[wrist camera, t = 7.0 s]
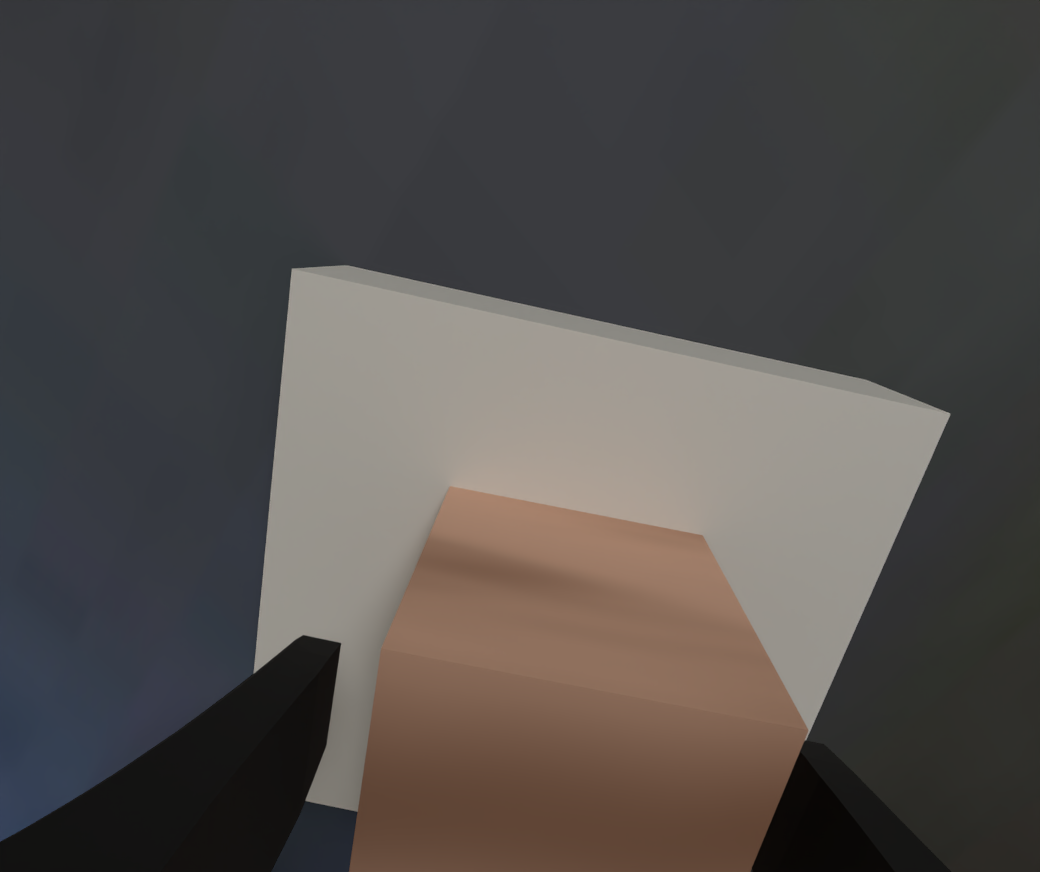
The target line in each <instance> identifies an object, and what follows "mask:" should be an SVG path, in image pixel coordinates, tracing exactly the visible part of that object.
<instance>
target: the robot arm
mask: <svg viewBox="0 0 1040 872" xmlns="http://www.w3.org/2000/svg"><path fill="white" fill-rule="evenodd" d="M340 648H341V643H339V642H334V641H330V640H325V639H320V638H315V637H311V636H306V635H302V636H301V637H299V638H297V639H296V640H294V641H293V642H292V643H291V644H290V645H288V646H287V647H286V648H285V649H283V650H282V651H281V652H280V653H279V654H277V655H276V656H275V657H274V658H272V659H271V660H270V661H269V662H268V663H266V664H265V665H264V666H263V667H261V668H260V669H259V670H258V671H256V672H255V673H254V674H253V675H251V676H250V677H249V678H247V679H246V680H245V681H244V682H242V683H241V684H240V685H239V686H237V687H236V688H235V689H233V690H232V691H231V692H230V693H228V694H227V695H226V696H224V697H223V698H221V699H220V700H219V701H217V702H216V703H215V704H213V705H212V706H211V707H209V708H208V709H207V710H205V711H204V712H203V713H201V714H200V715H199V716H197V717H196V718H195V719H193V720H192V721H191V722H189V723H188V724H187V725H185V726H184V727H182V728H181V729H180V730H178V731H177V732H175V733H174V734H172V735H171V736H169V737H168V738H167V739H165V740H164V741H162V742H161V743H159V744H158V745H156V746H155V747H153V748H152V749H150V750H149V751H147V752H146V753H144V754H143V755H142V756H140V757H139V758H137V759H136V760H134V761H133V762H131V763H130V764H128V765H127V766H125V767H124V768H122V769H121V770H119V771H118V772H116V773H115V774H113V775H112V776H110V777H109V778H107V779H105V780H104V781H102V782H101V783H99V784H98V785H96V786H94V787H93V788H91V789H90V790H88V791H86V792H85V793H83V794H82V795H80V796H78V797H77V798H75V799H73V800H72V801H70V802H69V803H67V804H65V805H63V806H62V807H60V808H58V809H57V810H55V811H53V812H52V813H50V814H48V815H47V816H45V817H43V818H41V819H40V820H38V821H36V822H35V823H33V824H31V825H30V826H28V827H26V828H24V829H23V830H21V831H19V832H17V833H16V834H14V835H12V836H10V837H8V838H6V839H5V840H3V841H1V842H0V872H271V871H272V869H273V867H274V865H275V863H276V861H277V859H278V857H279V855H280V853H281V851H282V849H283V847H284V845H285V843H286V841H287V839H288V837H289V835H290V833H291V831H292V829H293V827H294V825H295V823H296V821H297V819H298V817H299V815H300V813H301V810H302V808H303V805H304V802H305V800H306V797H307V795H308V792H309V790H310V787H311V785H312V782H313V780H314V777H315V774H316V772H317V769H318V766H319V764H320V761H321V759H322V756H323V753H324V751H325V748H326V745H327V738H328V731H329V724H330V718H331V711H332V704H333V697H334V690H335V683H336V676H337V669H338V662H339V655H340ZM752 871H753V872H951V871H950V870H949V869H948V868H947V867H946V866H945V865H944V864H943V863H942V862H941V861H940V860H939V859H938V858H937V857H936V856H935V855H934V854H933V853H932V852H931V851H930V850H929V849H928V848H927V847H926V846H925V845H924V844H923V843H922V842H921V841H920V840H919V839H918V838H917V837H916V836H915V835H914V834H913V833H912V831H911V830H910V829H909V828H908V827H907V826H906V825H905V824H904V823H903V822H902V821H901V820H900V819H899V818H898V817H897V816H896V815H895V814H894V813H893V812H892V811H891V810H890V809H889V808H888V807H887V806H886V805H885V804H884V803H883V802H882V801H881V800H880V799H879V798H878V797H877V796H876V795H875V794H874V793H873V792H872V791H871V790H870V789H869V788H868V787H867V786H866V785H865V784H864V783H863V782H862V781H861V779H860V778H859V777H858V776H857V775H856V774H855V773H854V772H853V771H851V770H850V769H849V768H848V767H847V766H846V765H845V764H844V763H843V762H842V761H841V760H840V759H839V758H838V757H837V756H836V755H835V754H834V753H833V752H832V751H831V750H829V749H828V748H827V747H826V746H825V745H824V744H820V743H815V742H810V741H806V740H805V741H804V743H803V745H802V748H801V750H800V753H799V755H798V757H797V760H796V762H795V765H794V767H793V769H792V772H791V774H790V777H789V779H788V782H787V784H786V786H785V789H784V791H783V794H782V796H781V798H780V801H779V803H778V806H777V808H776V810H775V813H774V815H773V818H772V820H771V823H770V825H769V827H768V830H767V832H766V835H765V837H764V839H763V842H762V844H761V847H760V849H759V852H758V854H757V856H756V859H755V861H754V864H753V866H752Z"/></svg>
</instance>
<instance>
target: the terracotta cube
mask: <svg viewBox="0 0 1040 872" xmlns="http://www.w3.org/2000/svg"><path fill="white" fill-rule="evenodd" d="M808 731H809V730H808V728H807V726H806V725H805V723H804V721H803V719H802V717H801V715H800V713H799V712H798V710H797V708H796V706H795V704H794V702H793V701H792V699H791V697H790V695H789V693H788V691H787V690H786V688H785V686H784V684H783V682H782V680H781V679H780V677H779V675H778V673H777V671H776V669H775V667H774V666H773V664H772V662H771V660H770V658H769V656H768V655H767V653H766V651H765V649H764V647H763V645H762V644H761V642H760V640H759V638H758V636H757V634H756V633H755V631H754V629H753V627H752V625H751V623H750V621H749V620H748V618H747V616H746V614H745V612H744V610H743V609H742V607H741V605H740V603H739V601H738V599H737V598H736V596H735V594H734V592H733V590H732V588H731V587H730V585H729V583H728V581H727V579H726V577H725V575H724V574H723V572H722V570H721V568H720V566H719V564H718V563H717V561H716V559H715V557H714V555H713V553H712V552H711V550H710V548H709V546H708V544H707V542H706V541H705V539H704V537H703V535H699V534H694V533H688V532H683V531H678V530H673V529H668V528H663V527H658V526H652V525H647V524H642V523H637V522H632V521H627V520H622V519H617V518H611V517H606V516H601V515H596V514H591V513H586V512H581V511H576V510H570V509H565V508H560V507H555V506H550V505H545V504H540V503H534V502H529V501H524V500H519V499H514V498H509V497H504V496H499V495H493V494H488V493H483V492H478V491H473V490H468V489H463V488H458V487H452V486H450V487H449V489H448V492H447V494H446V496H445V499H444V501H443V503H442V506H441V508H440V511H439V513H438V515H437V518H436V520H435V522H434V525H433V527H432V529H431V532H430V534H429V537H428V539H427V541H426V544H425V546H424V548H423V551H422V553H421V555H420V558H419V560H418V562H417V565H416V567H415V570H414V572H413V574H412V577H411V579H410V581H409V584H408V586H407V588H406V591H405V593H404V596H403V598H402V600H401V603H400V605H399V607H398V610H397V612H396V614H395V617H394V619H393V622H392V624H391V626H390V629H389V631H388V633H387V636H386V638H385V640H384V643H383V645H382V647H381V652H380V659H379V666H378V673H377V680H376V687H375V694H374V701H373V708H372V715H371V722H370V729H369V736H368V743H367V750H366V757H365V764H364V771H363V778H362V785H361V792H360V799H359V806H358V813H357V820H356V827H355V834H354V841H353V848H352V855H351V862H350V869H349V872H750V871H751V868H752V866H753V864H754V861H755V859H756V856H757V854H758V852H759V849H760V847H761V844H762V842H763V839H764V837H765V835H766V832H767V830H768V827H769V825H770V823H771V820H772V818H773V815H774V813H775V810H776V808H777V806H778V803H779V801H780V798H781V796H782V794H783V791H784V789H785V786H786V784H787V782H788V779H789V777H790V774H791V772H792V769H793V767H794V765H795V762H796V760H797V757H798V755H799V753H800V750H801V748H802V745H803V743H804V741H805V738H806V736H807V733H808Z"/></svg>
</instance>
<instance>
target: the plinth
mask: <svg viewBox="0 0 1040 872" xmlns="http://www.w3.org/2000/svg"><path fill="white" fill-rule="evenodd" d="M949 416H950V413H947V412H945V411H942V410H940V409H937V408H935V407H932V406H930V405H927V404H925V403H922V402H920V401H917V400H915V399H912V398H910V397H908V396H905V395H903V394H900V393H898V392H895V391H893V390H890V389H888V388H885V387H883V386H880V385H878V384H875V383H873V382H870V381H868V380H864V379H860V378H855V377H851V376H846V375H842V374H837V373H833V372H828V371H824V370H819V369H814V368H810V367H805V366H801V365H796V364H792V363H787V362H783V361H778V360H774V359H769V358H765V357H760V356H756V355H751V354H747V353H742V352H737V351H733V350H728V349H724V348H719V347H715V346H710V345H706V344H701V343H697V342H692V341H688V340H683V339H679V338H674V337H670V336H665V335H660V334H656V333H651V332H647V331H642V330H638V329H633V328H629V327H624V326H620V325H615V324H611V323H606V322H602V321H597V320H592V319H588V318H583V317H579V316H574V315H570V314H565V313H561V312H556V311H552V310H547V309H543V308H538V307H534V306H529V305H525V304H520V303H515V302H511V301H506V300H502V299H497V298H493V297H488V296H484V295H479V294H475V293H470V292H466V291H461V290H457V289H452V288H447V287H443V286H438V285H434V284H429V283H425V282H420V281H416V280H411V279H407V278H402V277H398V276H393V275H389V274H384V273H380V272H375V271H370V270H366V269H361V268H357V267H352V266H348V265H343V266H327V267H312V268H296V269H292V274H291V285H290V295H289V306H288V316H287V327H286V337H285V348H284V359H283V369H282V380H281V390H280V401H279V411H278V422H277V432H276V443H275V454H274V464H273V475H272V485H271V496H270V506H269V517H268V528H267V538H266V549H265V559H264V570H263V580H262V591H261V602H260V612H259V623H258V633H257V644H256V654H255V665H254V673H255V672H256V671H258V670H259V669H260V668H261V667H263V666H264V665H265V664H266V663H268V662H269V661H270V660H271V659H272V658H274V657H275V656H276V655H277V654H279V653H280V652H281V651H282V650H283V649H285V648H286V647H287V646H288V645H290V644H291V643H292V642H293V641H294V640H296V639H297V638H299V637H301V636H302V635H306V636H311V637H315V638H320V639H325V640H330V641H334V642H339V643H341V648H340V655H339V662H338V669H337V676H336V683H335V690H334V697H333V704H332V711H331V718H330V724H329V731H328V738H327V745H326V748H325V751H324V753H323V756H322V759H321V761H320V764H319V766H318V769H317V772H316V774H315V777H314V780H313V782H312V785H311V787H310V790H309V792H308V795H307V797H306V800H305V801H308V802H313V803H318V804H323V805H327V806H332V807H337V808H342V809H347V810H352V811H357V812H358V806H359V799H360V792H361V785H362V778H363V771H364V764H365V757H366V750H367V743H368V736H369V729H370V722H371V715H372V708H373V701H374V694H375V687H376V680H377V673H378V666H379V659H380V652H381V647H382V645H383V643H384V640H385V638H386V636H387V633H388V631H389V629H390V626H391V624H392V622H393V619H394V617H395V614H396V612H397V610H398V607H399V605H400V603H401V600H402V598H403V596H404V593H405V591H406V588H407V586H408V584H409V581H410V579H411V577H412V574H413V572H414V570H415V567H416V565H417V562H418V560H419V558H420V555H421V553H422V551H423V548H424V546H425V544H426V541H427V539H428V537H429V534H430V532H431V529H432V527H433V525H434V522H435V520H436V518H437V515H438V513H439V511H440V508H441V506H442V503H443V501H444V499H445V496H446V494H447V492H448V489H449V487H450V486H452V487H458V488H463V489H468V490H473V491H478V492H483V493H488V494H493V495H499V496H504V497H509V498H514V499H519V500H524V501H529V502H534V503H540V504H545V505H550V506H555V507H560V508H565V509H570V510H576V511H581V512H586V513H591V514H596V515H601V516H606V517H611V518H617V519H622V520H627V521H632V522H637V523H642V524H647V525H652V526H658V527H663V528H668V529H673V530H678V531H683V532H688V533H694V534H699V535H703V537H704V539H705V541H706V542H707V544H708V546H709V548H710V550H711V552H712V553H713V555H714V557H715V559H716V561H717V563H718V564H719V566H720V568H721V570H722V572H723V574H724V575H725V577H726V579H727V581H728V583H729V585H730V587H731V588H732V590H733V592H734V594H735V596H736V598H737V599H738V601H739V603H740V605H741V607H742V609H743V610H744V612H745V614H746V616H747V618H748V620H749V621H750V623H751V625H752V627H753V629H754V631H755V633H756V634H757V636H758V638H759V640H760V642H761V644H762V645H763V647H764V649H765V651H766V653H767V655H768V656H769V658H770V660H771V662H772V664H773V666H774V667H775V669H776V671H777V673H778V675H779V677H780V679H781V680H782V682H783V684H784V686H785V688H786V690H787V691H788V693H789V695H790V697H791V699H792V701H793V702H794V704H795V706H796V708H797V710H798V712H799V713H800V715H801V717H802V719H803V721H804V723H805V725H806V726H807V728H808V730H809V731H808V733H807V736H806V738H805V740H806V739H807V737H808V735H809V732H810V730H811V728H812V726H813V723H814V721H815V719H816V717H817V714H818V712H819V710H820V708H821V705H822V703H823V701H824V698H825V696H826V694H827V692H828V689H829V687H830V685H831V683H832V680H833V678H834V676H835V674H836V671H837V669H838V667H839V665H840V662H841V660H842V658H843V656H844V653H845V651H846V649H847V647H848V644H849V642H850V640H851V638H852V635H853V633H854V631H855V629H856V626H857V624H858V622H859V619H860V617H861V615H862V613H863V610H864V608H865V606H866V604H867V601H868V599H869V597H870V595H871V592H872V590H873V588H874V586H875V583H876V581H877V579H878V577H879V574H880V572H881V570H882V568H883V565H884V563H885V561H886V559H887V556H888V554H889V552H890V550H891V547H892V545H893V543H894V540H895V538H896V536H897V534H898V531H899V529H900V527H901V525H902V522H903V520H904V518H905V516H906V513H907V511H908V509H909V507H910V504H911V502H912V500H913V498H914V495H915V493H916V491H917V489H918V486H919V484H920V482H921V480H922V477H923V475H924V473H925V471H926V468H927V466H928V464H929V461H930V459H931V457H932V455H933V452H934V450H935V448H936V446H937V443H938V441H939V439H940V437H941V434H942V432H943V430H944V428H945V425H946V423H947V421H948V419H949Z"/></svg>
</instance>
